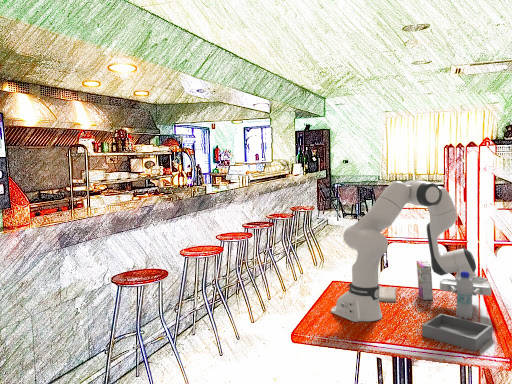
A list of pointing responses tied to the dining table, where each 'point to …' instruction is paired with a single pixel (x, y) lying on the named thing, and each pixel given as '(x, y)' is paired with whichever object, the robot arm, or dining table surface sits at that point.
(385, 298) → the washcloth
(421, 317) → the dining table surface
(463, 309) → the bottle
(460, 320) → the serving tray
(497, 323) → the dining table surface
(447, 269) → the robot arm
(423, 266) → the candy bar box
